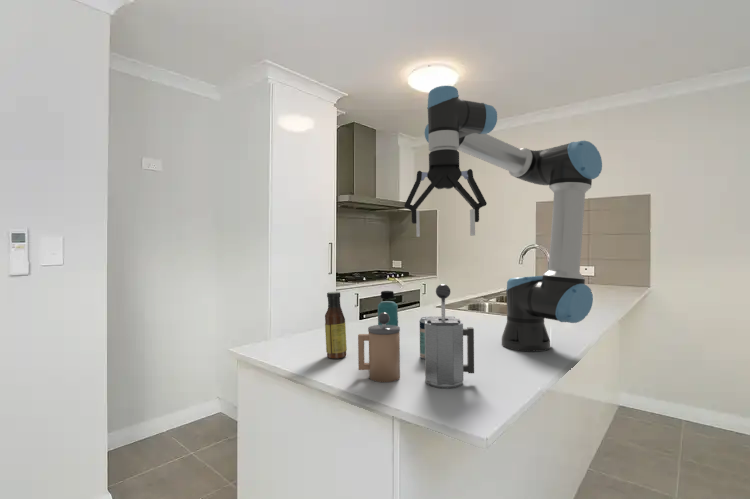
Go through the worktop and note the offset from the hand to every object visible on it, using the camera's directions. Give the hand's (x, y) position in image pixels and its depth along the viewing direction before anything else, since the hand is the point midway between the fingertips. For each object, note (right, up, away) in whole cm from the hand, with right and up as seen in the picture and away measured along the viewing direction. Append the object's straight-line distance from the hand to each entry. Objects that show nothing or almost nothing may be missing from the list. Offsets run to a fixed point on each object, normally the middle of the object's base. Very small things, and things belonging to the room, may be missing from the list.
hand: (445, 236), depth 101 cm
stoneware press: (-16, -36, +3) cm, 40 cm away
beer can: (-2, -36, +20) cm, 42 cm away
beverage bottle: (-14, -36, +23) cm, 45 cm away
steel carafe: (+1, -36, -1) cm, 36 cm away
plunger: (-1, -32, -1) cm, 32 cm away
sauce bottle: (-30, -37, +23) cm, 52 cm away
